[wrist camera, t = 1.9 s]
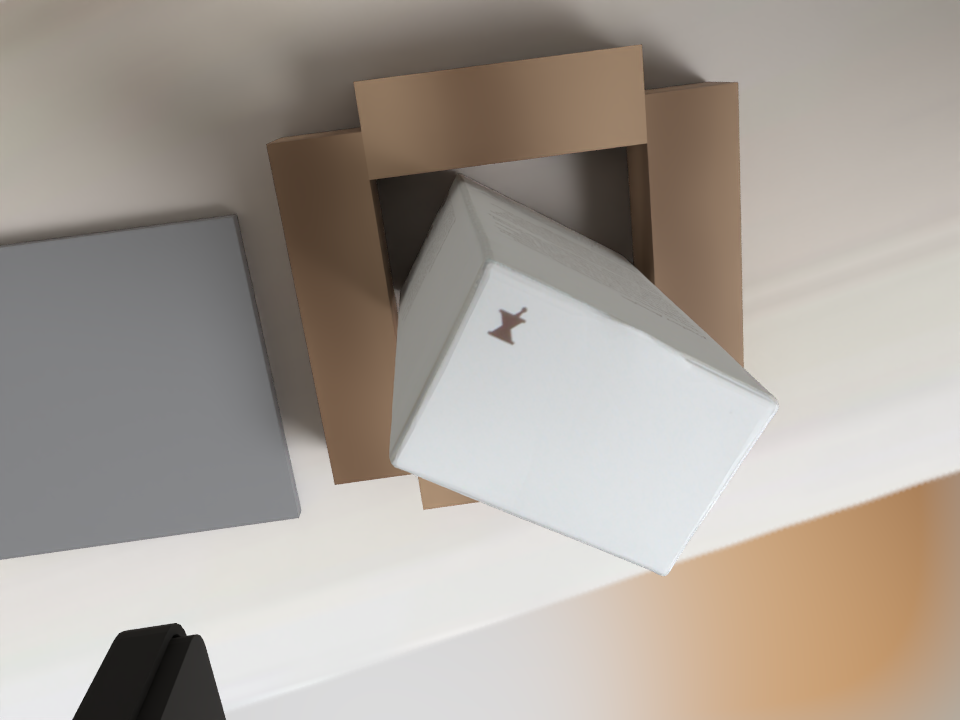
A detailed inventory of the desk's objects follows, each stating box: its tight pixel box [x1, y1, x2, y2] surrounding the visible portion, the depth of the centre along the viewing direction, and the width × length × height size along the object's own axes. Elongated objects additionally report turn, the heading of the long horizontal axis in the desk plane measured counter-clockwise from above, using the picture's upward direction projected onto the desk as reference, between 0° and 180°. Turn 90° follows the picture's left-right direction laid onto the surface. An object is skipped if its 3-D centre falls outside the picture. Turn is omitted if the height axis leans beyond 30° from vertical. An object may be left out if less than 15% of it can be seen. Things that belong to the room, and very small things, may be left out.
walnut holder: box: [266, 44, 744, 510], centre depth 25 cm, size 12×12×2 cm
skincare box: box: [389, 173, 779, 576], centre depth 20 cm, size 6×4×12 cm
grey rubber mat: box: [0, 214, 301, 560], centre depth 26 cm, size 10×10×1 cm
